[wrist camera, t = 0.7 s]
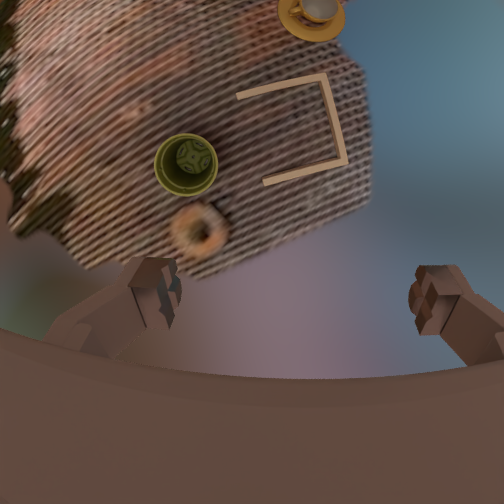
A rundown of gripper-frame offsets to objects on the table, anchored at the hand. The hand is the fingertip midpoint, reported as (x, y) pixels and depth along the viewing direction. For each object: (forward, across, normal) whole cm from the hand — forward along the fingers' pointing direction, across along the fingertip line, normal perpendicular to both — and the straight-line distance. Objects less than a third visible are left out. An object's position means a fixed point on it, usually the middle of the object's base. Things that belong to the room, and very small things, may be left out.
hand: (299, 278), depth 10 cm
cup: (+48, -5, -18) cm, 52 cm away
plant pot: (+41, +16, +8) cm, 45 cm away
